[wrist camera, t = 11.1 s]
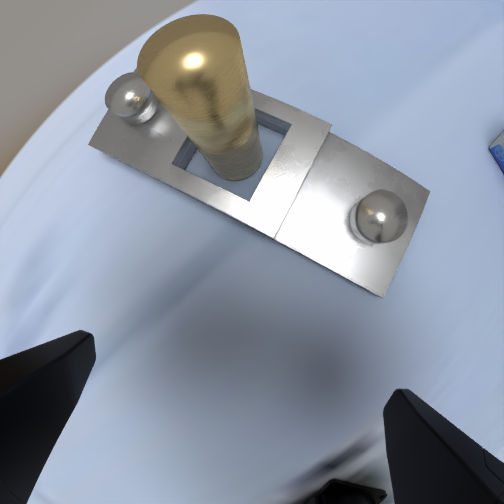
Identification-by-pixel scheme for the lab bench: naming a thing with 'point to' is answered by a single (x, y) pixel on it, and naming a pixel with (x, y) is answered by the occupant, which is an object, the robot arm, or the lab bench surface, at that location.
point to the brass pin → (206, 90)
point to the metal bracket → (282, 183)
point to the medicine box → (498, 150)
